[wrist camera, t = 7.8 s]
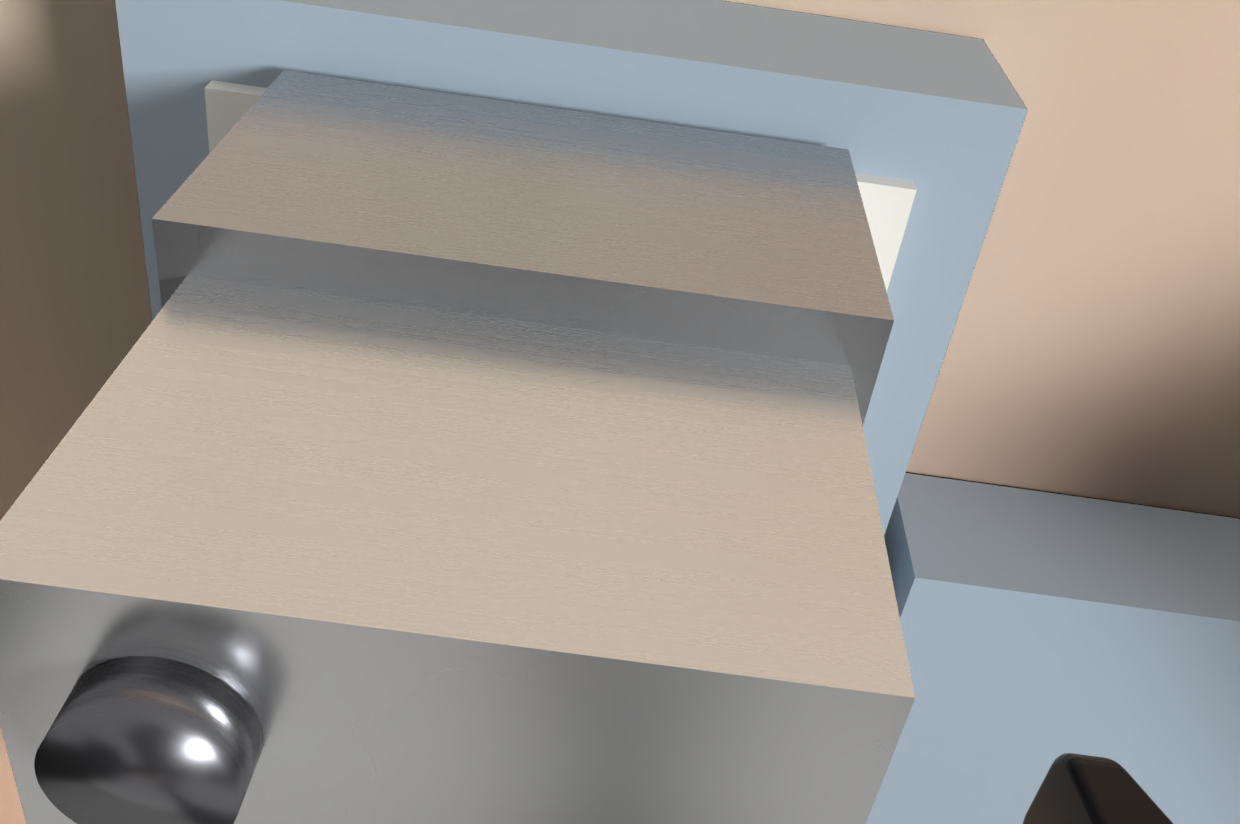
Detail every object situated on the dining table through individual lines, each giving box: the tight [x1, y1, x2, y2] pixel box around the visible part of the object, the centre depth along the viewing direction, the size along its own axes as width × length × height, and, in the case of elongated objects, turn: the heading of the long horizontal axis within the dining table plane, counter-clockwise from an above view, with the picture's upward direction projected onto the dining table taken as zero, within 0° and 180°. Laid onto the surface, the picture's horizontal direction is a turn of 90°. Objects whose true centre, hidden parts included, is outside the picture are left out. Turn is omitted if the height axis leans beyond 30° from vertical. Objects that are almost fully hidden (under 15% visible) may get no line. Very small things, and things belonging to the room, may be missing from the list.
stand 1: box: [115, 0, 1028, 535], centre depth 13 cm, size 8×8×2 cm
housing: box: [0, 70, 915, 824], centre depth 10 cm, size 7×5×6 cm
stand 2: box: [866, 473, 1240, 824], centre depth 17 cm, size 8×8×2 cm
